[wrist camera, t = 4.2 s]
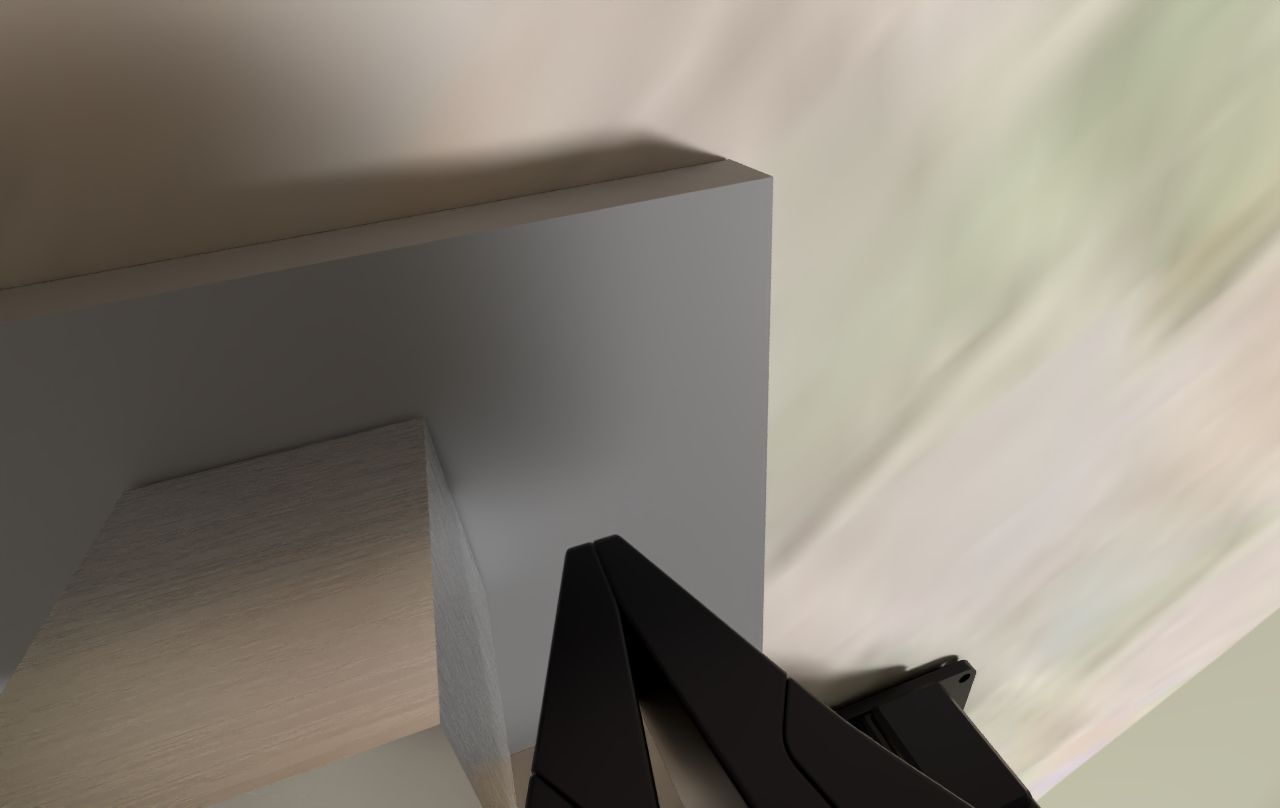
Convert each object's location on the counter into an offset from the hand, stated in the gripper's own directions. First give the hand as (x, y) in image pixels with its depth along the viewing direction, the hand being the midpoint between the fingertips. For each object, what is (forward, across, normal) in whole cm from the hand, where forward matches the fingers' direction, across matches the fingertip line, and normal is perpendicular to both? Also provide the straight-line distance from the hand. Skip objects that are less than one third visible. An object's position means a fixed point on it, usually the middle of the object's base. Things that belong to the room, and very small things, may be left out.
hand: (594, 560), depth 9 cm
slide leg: (+2, +4, +2) cm, 5 cm away
